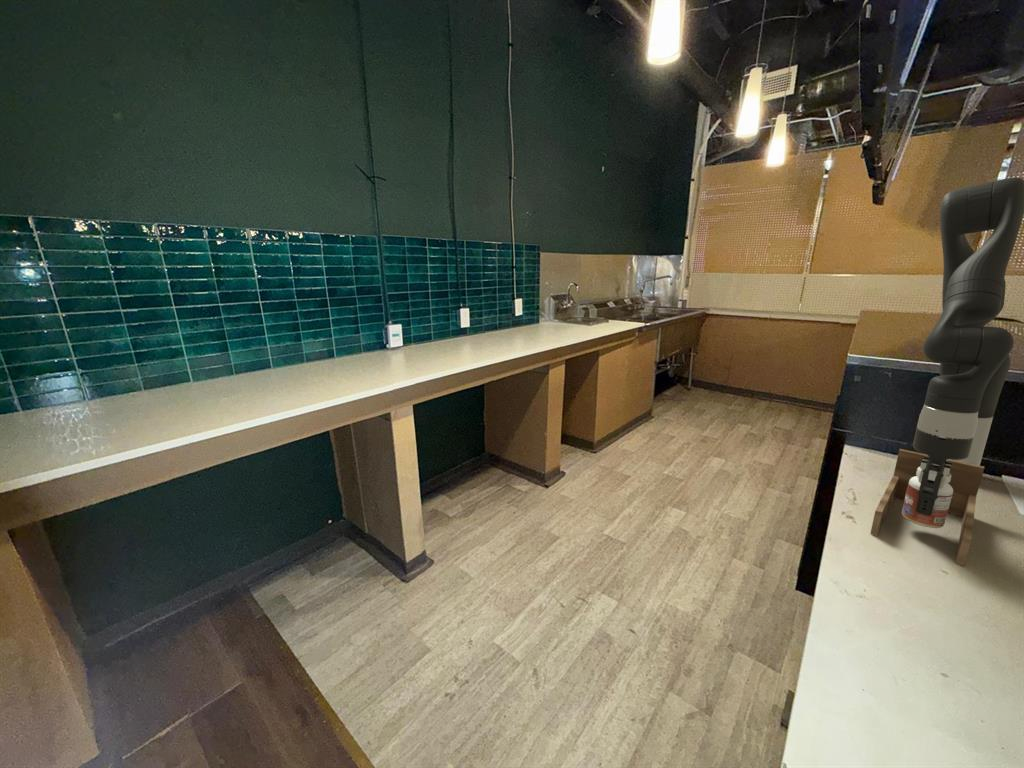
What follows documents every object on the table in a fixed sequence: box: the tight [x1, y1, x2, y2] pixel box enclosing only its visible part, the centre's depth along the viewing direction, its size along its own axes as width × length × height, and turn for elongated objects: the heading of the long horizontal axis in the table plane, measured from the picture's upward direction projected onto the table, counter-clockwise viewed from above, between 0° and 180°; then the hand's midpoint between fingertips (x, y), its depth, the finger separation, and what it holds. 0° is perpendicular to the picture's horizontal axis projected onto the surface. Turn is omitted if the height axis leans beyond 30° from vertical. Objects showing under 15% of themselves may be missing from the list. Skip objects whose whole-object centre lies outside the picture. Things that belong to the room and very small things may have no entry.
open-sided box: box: [870, 448, 985, 567], centre depth 83 cm, size 23×13×12 cm, turn 130°
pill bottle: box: [901, 467, 953, 529], centre depth 80 cm, size 6×6×11 cm
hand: (925, 506), depth 80 cm, fingers closed on pill bottle, 6 cm apart
